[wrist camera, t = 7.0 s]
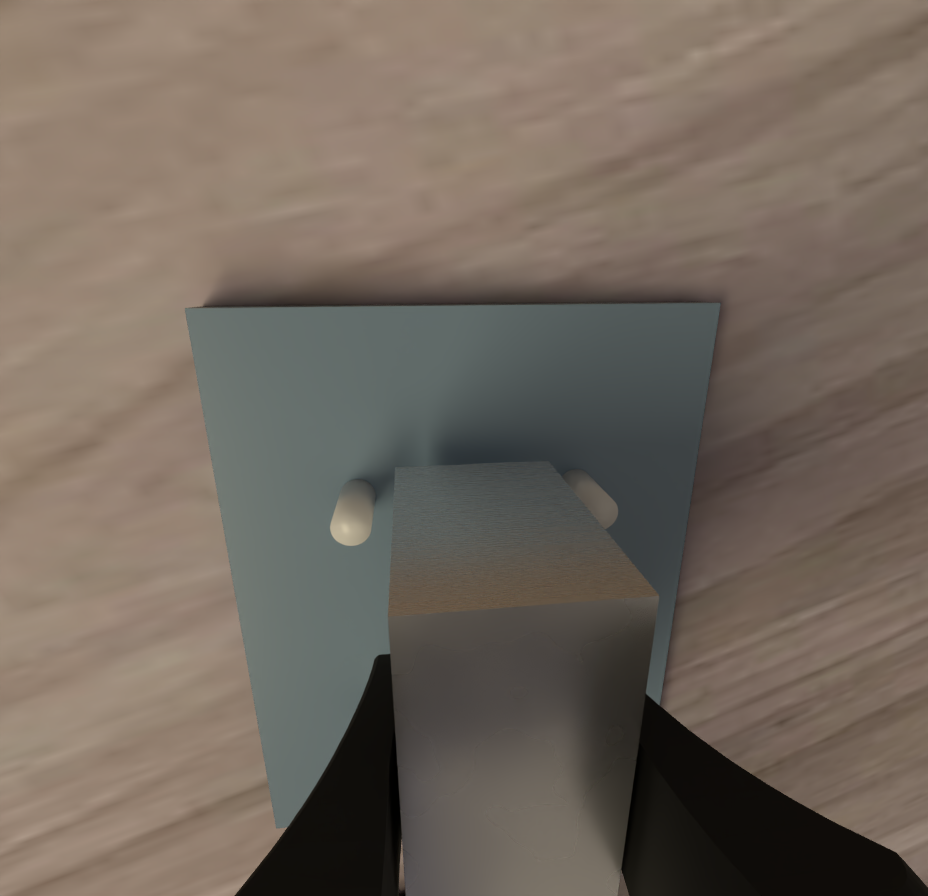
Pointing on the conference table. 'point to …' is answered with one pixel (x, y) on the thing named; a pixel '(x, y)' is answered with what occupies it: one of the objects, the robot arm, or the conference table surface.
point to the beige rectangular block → (513, 682)
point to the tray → (424, 444)
